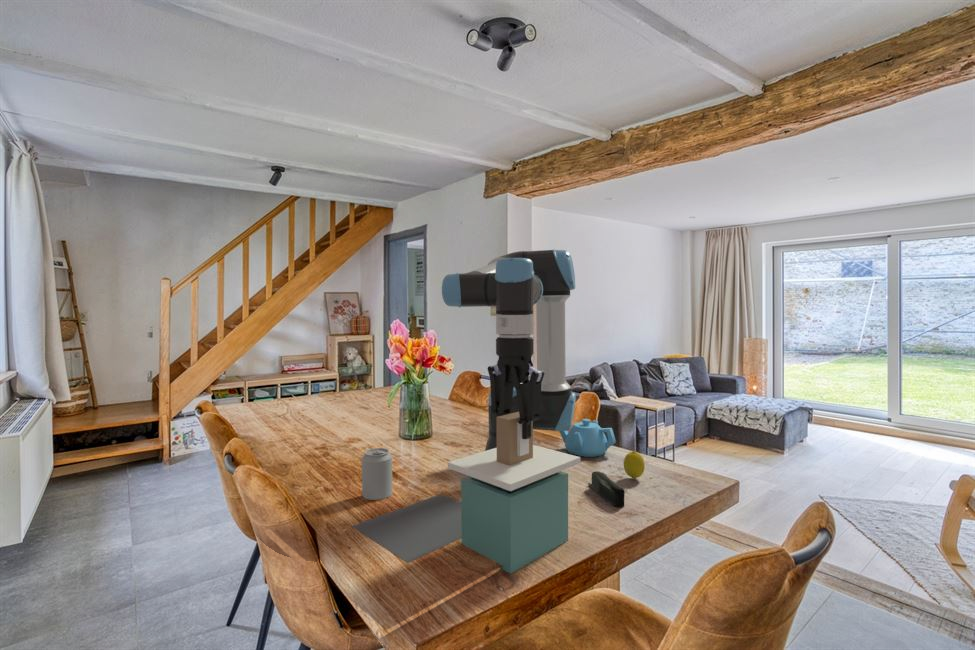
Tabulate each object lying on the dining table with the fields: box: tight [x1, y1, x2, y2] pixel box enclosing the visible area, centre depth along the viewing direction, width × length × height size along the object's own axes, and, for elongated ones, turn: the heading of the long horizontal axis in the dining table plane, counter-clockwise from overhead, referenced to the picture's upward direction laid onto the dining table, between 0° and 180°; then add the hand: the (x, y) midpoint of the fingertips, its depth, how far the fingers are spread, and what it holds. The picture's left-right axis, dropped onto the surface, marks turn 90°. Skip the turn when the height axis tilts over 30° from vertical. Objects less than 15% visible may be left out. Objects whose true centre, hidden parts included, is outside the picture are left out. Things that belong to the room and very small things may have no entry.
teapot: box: [558, 418, 617, 458], centre depth 158 cm, size 15×15×11 cm
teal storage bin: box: [460, 471, 569, 575], centre depth 97 cm, size 13×17×14 cm
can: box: [361, 447, 393, 501], centre depth 122 cm, size 8×8×12 cm
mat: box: [351, 493, 462, 563], centre depth 106 cm, size 21×25×1 cm
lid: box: [447, 412, 581, 491], centre depth 97 cm, size 17×21×10 cm
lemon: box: [623, 450, 645, 480], centre depth 133 cm, size 6×6×8 cm
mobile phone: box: [587, 471, 626, 508], centre depth 122 cm, size 5×3×15 cm
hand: (515, 451), depth 97 cm, fingers closed on lid, 3 cm apart
